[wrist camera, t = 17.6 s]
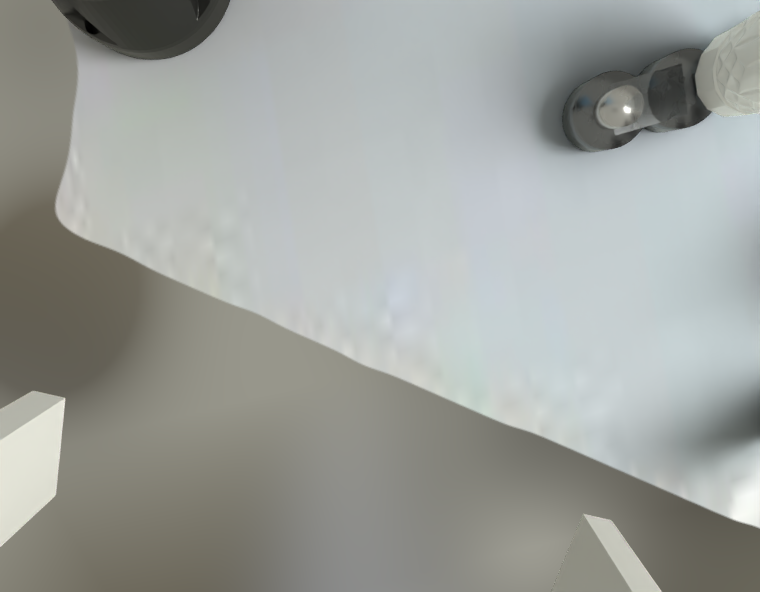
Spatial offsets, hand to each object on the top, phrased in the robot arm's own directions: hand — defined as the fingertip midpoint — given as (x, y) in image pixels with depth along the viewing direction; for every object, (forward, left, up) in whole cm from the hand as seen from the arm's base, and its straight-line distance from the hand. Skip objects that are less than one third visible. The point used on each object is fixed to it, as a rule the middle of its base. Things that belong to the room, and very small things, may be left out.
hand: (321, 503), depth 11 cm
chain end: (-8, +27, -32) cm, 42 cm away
